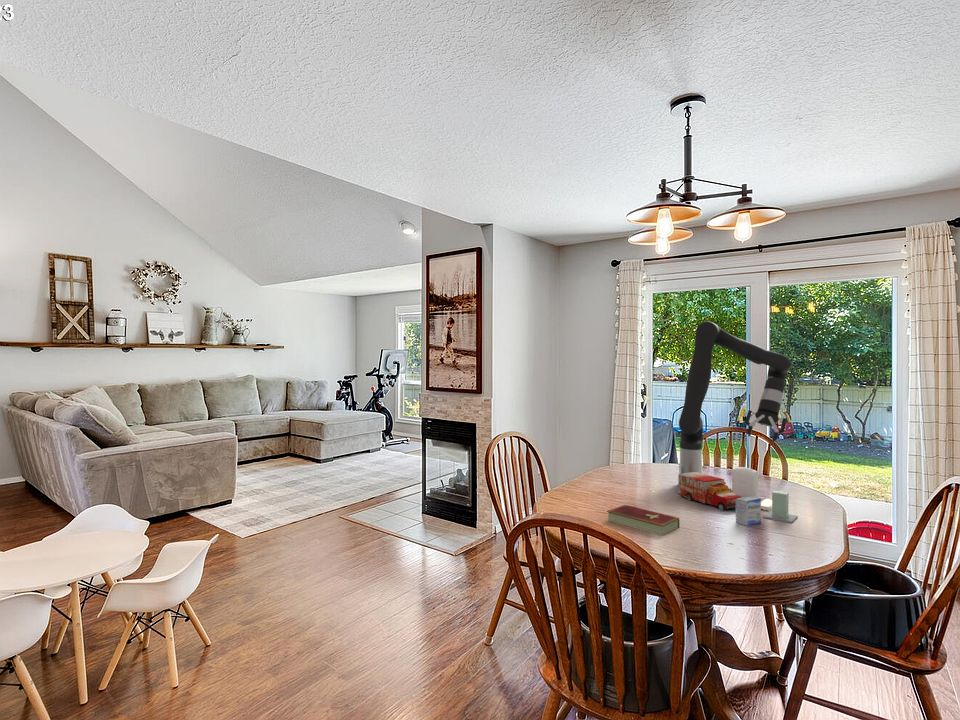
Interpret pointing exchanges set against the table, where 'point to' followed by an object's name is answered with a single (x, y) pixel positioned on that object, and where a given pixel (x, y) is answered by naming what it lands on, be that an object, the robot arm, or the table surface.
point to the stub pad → (788, 519)
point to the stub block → (780, 504)
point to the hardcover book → (643, 519)
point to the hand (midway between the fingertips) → (761, 438)
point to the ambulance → (706, 490)
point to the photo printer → (745, 482)
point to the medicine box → (748, 510)
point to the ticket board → (766, 504)
